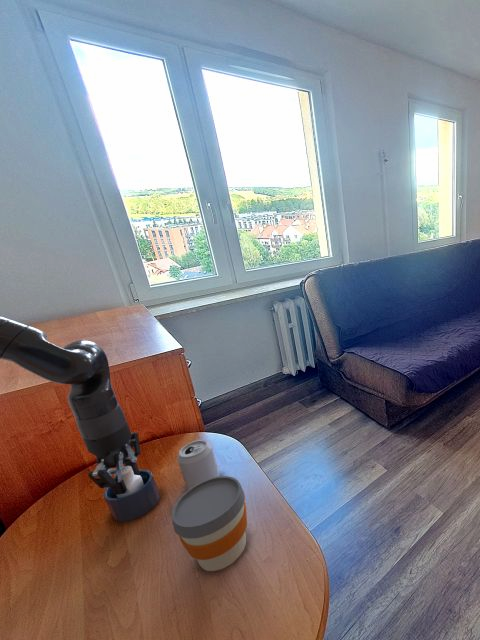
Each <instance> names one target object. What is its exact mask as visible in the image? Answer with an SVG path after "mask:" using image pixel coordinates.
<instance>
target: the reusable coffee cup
mask: <svg viewBox="0 0 480 640" xmlns="http://www.w3.org/2000/svg"><path fill="white" fill-rule="evenodd" d="M245 499H246V495H245V492H244V489H243V488H242V485H241V482H240V481H239V480H238V479H237V478H236V477H233V476H231V475H230V476H228V475H219V476H218V477H213V478H210V479H207V480H204V481H202V482H200V483H198V484H196V485H195V486H193V487H192V488H190V489H189V490H188V489H187V490H186V491H184V493H183V494H182V495H180V497H179V498H178V499H177V501H176V502H175V503H174V505H173V507H172V510H171V520H172V526H173V529H174V530H173V531H174V532H175V533H176V534H177V536H178V537H179V538H178V539H179V541H180V543H181V544H182V545H183V548H184V549H185V550H186V551H187V553H188V555H189V556H190V557H191V558H193V559H194V560H196V561H197V563H198V564H199V566H200V567H201V568H202V570H204V571H207V572H216V571H221V570H223V569H225V568H227V567H229V566H230V565H232V564H233V563H234V562H235V561H236V560H237V559H238V558H239V557H240V556H241V555H242V553H243V552H244V550H245V548H246V546H247V532H246V531H247V526H248V515H247V505H246V502H245V501H246V500H245Z"/></svg>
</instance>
